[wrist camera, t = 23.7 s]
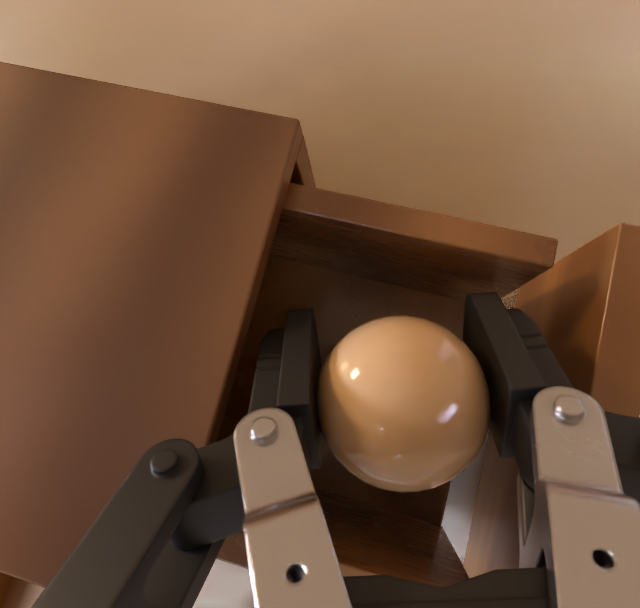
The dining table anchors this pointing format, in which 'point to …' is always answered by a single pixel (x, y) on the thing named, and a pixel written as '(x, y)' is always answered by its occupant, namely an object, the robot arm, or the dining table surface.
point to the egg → (403, 403)
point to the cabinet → (120, 287)
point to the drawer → (448, 310)
